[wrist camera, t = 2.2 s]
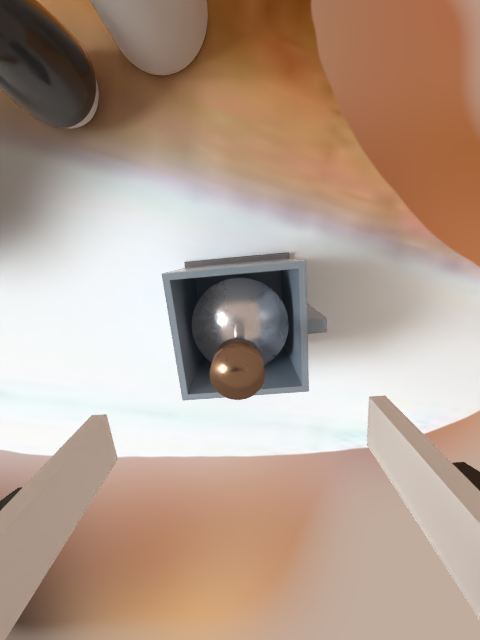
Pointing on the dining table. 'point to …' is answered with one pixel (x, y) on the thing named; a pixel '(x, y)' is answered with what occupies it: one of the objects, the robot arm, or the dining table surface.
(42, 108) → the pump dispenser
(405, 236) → the dining table surface
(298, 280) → the grey open bin
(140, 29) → the cylinder vase
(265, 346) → the plunger
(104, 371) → the dining table surface
